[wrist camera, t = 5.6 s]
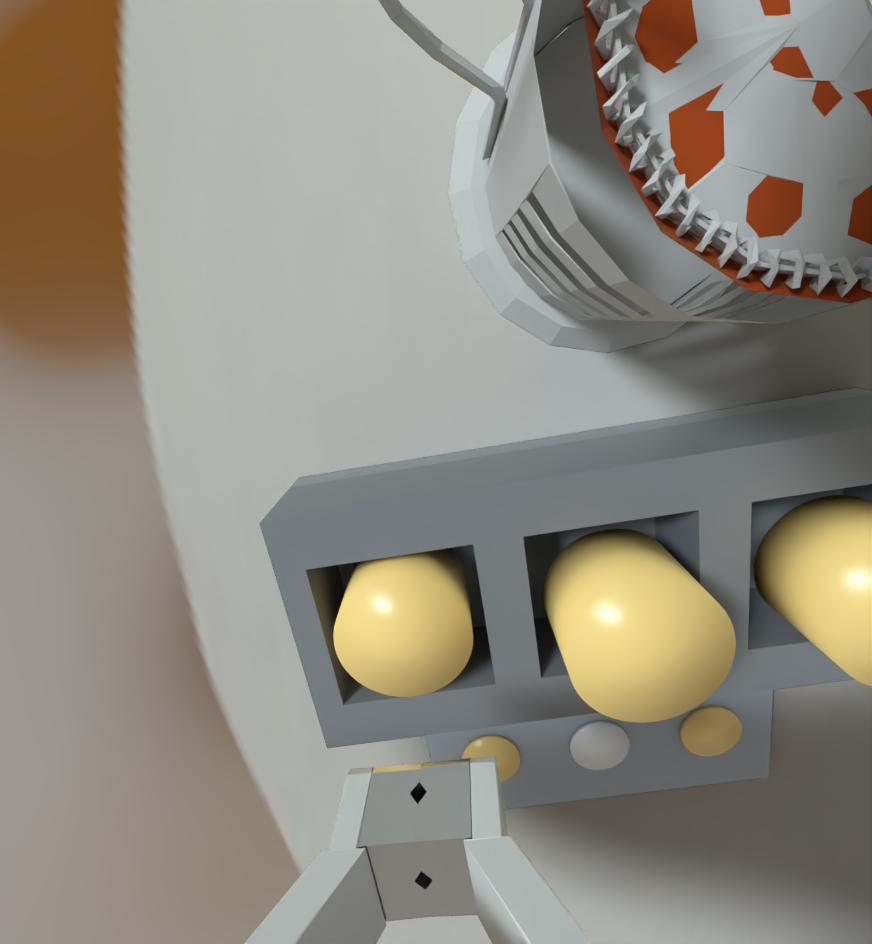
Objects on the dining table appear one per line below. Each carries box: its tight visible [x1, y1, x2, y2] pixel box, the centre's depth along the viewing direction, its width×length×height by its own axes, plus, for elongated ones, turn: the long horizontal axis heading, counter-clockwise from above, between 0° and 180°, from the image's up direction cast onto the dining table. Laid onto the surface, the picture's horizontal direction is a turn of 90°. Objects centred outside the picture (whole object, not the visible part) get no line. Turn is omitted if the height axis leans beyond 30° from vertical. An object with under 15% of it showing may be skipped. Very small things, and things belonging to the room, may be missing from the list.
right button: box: [753, 495, 872, 686], centre depth 13 cm, size 4×4×3 cm
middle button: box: [543, 528, 736, 723], centre depth 13 cm, size 4×4×3 cm
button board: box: [260, 388, 872, 809], centre depth 17 cm, size 16×19×4 cm
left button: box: [333, 548, 473, 697], centre depth 16 cm, size 4×4×3 cm
